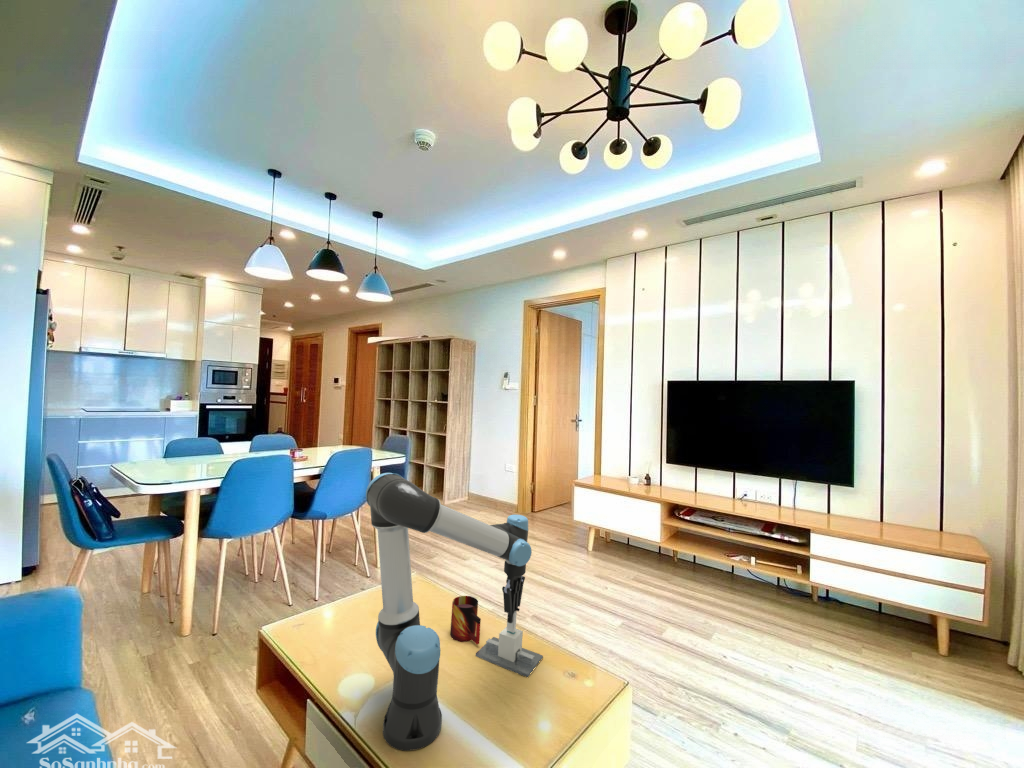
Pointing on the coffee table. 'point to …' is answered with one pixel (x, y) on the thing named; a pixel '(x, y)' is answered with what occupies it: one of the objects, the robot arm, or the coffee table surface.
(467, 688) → the coffee table surface
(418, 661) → the robot arm
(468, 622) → the mug
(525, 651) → the rail plate
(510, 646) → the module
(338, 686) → the coffee table surface
